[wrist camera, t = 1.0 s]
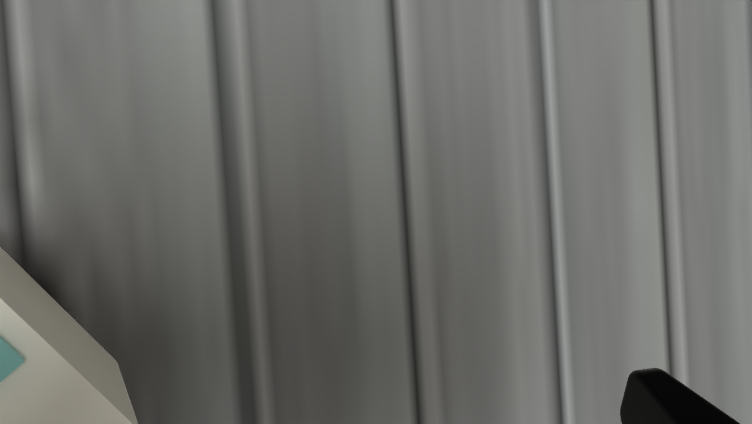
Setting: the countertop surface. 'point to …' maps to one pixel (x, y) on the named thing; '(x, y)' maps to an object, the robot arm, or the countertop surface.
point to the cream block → (52, 361)
